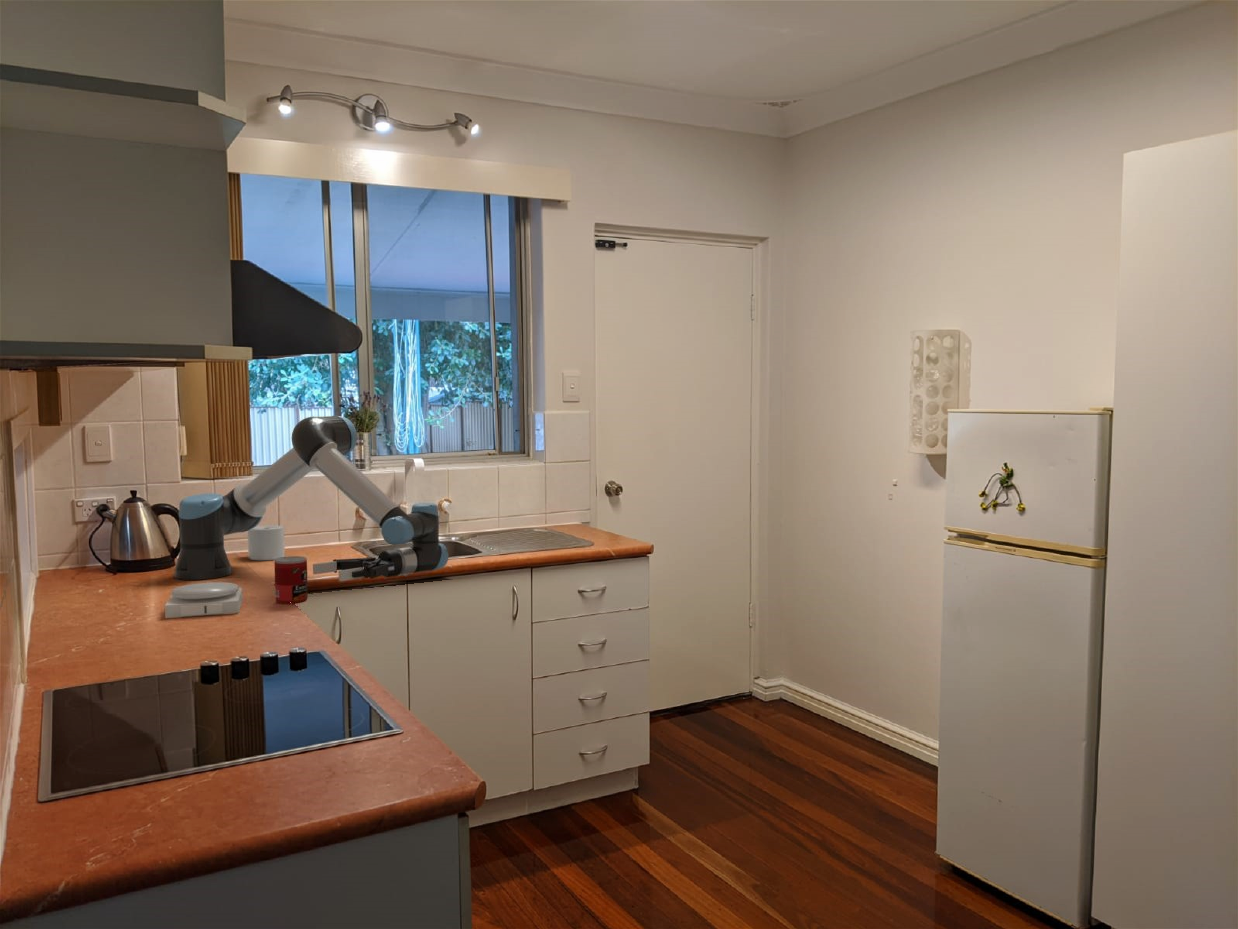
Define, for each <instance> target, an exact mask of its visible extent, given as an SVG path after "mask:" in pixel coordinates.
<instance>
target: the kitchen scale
mask: <svg viewBox="0 0 1238 929" xmlns="http://www.w3.org/2000/svg"><path fill="white" fill-rule="evenodd" d="M170 594H171V596H170V597H169V598H168V600H167V601H166V603H165V605H164V615H165V619H171V618H172V619H173V618H185V617H186V618H187V617H189V618H190V617H202V616H215V615H229V614H239V613H240V610H241V606H242V603H243V599H244V597H243V596H244V595H243V587H239V585H238V584H237V583H233V582H222V581H221V582H218V581H217V582H216V581H215V582H202V583H201V582H200V583H199V582H198V583H192V584H186V585H182V586H177V587H175V588H172V589H171V592H170Z"/></svg>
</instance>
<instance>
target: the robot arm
mask: <svg viewBox="0 0 1238 929" xmlns="http://www.w3.org/2000/svg"><path fill="white" fill-rule="evenodd" d="M357 439H358V433H357V430H356V427H355V425H354V423H353V422H352V421H351V420H350V419H348V418H347V417H344V416H341V415H340V416H339V415H328V416H308V417H305V418H302V419H301V420H300V421H299V422H297V424H295V426H294V428H293V429H292V432H291V443H292V444H291V445H292V448H290V449H289V450H288V451H287V452H286V453H284V454H283V455H282V456H280V457H279V458H278V459H277V460H276V461H275V462H273V463H272V464H271V465H270V466H268V467H267V468H265V469H264V471H262V472H261V473H259V475H257V476H256V477H255V478H253V479H252V480H251V481H249V483H247V484H238V485H237V486H235V487H234V488H233V489H231V490H230V491H229V492H228V493H227V494H225V495H223V496H222V495H221V494H219V493H202V494H193V495H190V496H188V497H184V498H183V499H182V500H181V501H180V502H179V504H178V505H179V507H178V508H179V509H178V520H179V521H178V522H179V544H180V545H179V546H180V548H179V549H180V550H179V555H178V556H177V561H176V564H175V566H174V578H175V579H179V580H186V581H189V580H190V581H194V580H198V581H199V580H210V579H218V578H222V577H227V576H229V575H231V574H232V565H231V563H230V560H229V558H228V555H227V552H226V549H225V540H224V538H225V537H224V536H227V535H232V534H238V533H245V532H248V530H250V529H253V528H254V527H256V526H259V525H260V523H261V521H262V519H263V517H264V515H265V514H266V512H267V506H269V504H270V505H271V503H272V502H274V501H276V499H278V498H279V497H280V496H282V495H283V494H284V493H285V492H286V491H288V490H289V489H291V487H293V486H294V485H295V484H297V482H299V481H300V480H301V479H303V478H304V477H305V476H307V475H308V474H310V473H311V471H313V470H318V471H319V472H320V473H321V474H322V475H324V477H325V478H327V479H328V480H329V481H330V482H331V484H333V485H334V486H335V487H336V488H337V489H338V490H340V491H341V492H342V493H343V494H344V496H346V497H347V498H348V499H349V500H350V501H351V502H352V503H353V504H355V505H356V507H358V508H359V509H360V510H361V511H362V512H363V513H364V514H365V515H366V516H367V517H369V519H371V520H372V521H373V522H374V523H375V524H376V525H378V528H379V527H380V529H381V530H380V531H381V532H380V533H381V535H382V538H383V540H384V541H385V543H387V544H388V545H389V544H390V545H391V546H400V545H406V544H407V543H410V542H411V543H412V546H407V547H401V548H400V547H398V548H393V549H385V550H382V551H381V552H380V553H379V555H378V557H375V556H373V557H372V556H371V557H368V556H366V557H358V558H342V559H341V558H340V559H339V558H338V559H335V558H334V559H332V561H328V562H326V561H325V562H319V563H313V564H312V574H313V575H320V574H327V573H334V574H336V573H338V582H345V581H352V580H358V579H363V578H364V579H368V578H369V579H375V578H379V577H381V576H383V577H384V578H393V577H398V576H404V577H408V575H409V574H416V573H423V572H432V571H436V570H441V569H442V568H444V567H446V565H447V564H448V561H449V553H448V551H447V550H448V549H447V547H446V546H445V545H444V544H443V543H441V542H440V538H439V537H440V533H439V532H440V530H439V529H440V527H439V525H440V524H439V523H440V520H439V518H440V515H439V507H438V505H437V504H436V503H433V502H432V503H431V502H423V503H421V502H420V503H414V504H412V506H411V512H410V513H406V512H405V511H404V510H403V509H402V508H401V507H400V506H398V504H396V503H395V502H394V500H392V499H391V497H389V496H388V495H387V494H385V492H383V491H382V490H381V489H380V488H379V487H378V485H376V484H375V483H374V482H373V481H372V480H370V478H368V476H366V475H365V474H364V472H362V471H361V470H360V469H359V468H358V467H357V466H355V464H353V463H352V462H351V461H350V460H349V459H348V458H347V457H346V455H348V454H350V453H352V452H353V450H355V447H356V446H357V442H358V440H357Z"/></svg>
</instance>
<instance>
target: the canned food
mask: <svg viewBox="0 0 1238 929" xmlns="http://www.w3.org/2000/svg"><path fill="white" fill-rule="evenodd" d="M273 563H274V591H275V593H274V594H275V601H276V603H277V602H278V603H277V604H279V603H281V604H280V605H295V604H296V605H298V604H302V603H305V602H307V600H308V598H309V597H308V595H309V594H308V593H309V591H308V587H309V586H308V559H307V557H306V556H300V555H298V556H297V555H296V556H295V555H292V556H291V555H290V556H289V555H288V556H285V557H280V558H276V559H275V560H274V562H273ZM290 602H291V603H292V604H291V603H290Z"/></svg>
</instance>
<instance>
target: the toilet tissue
mask: <svg viewBox="0 0 1238 929" xmlns="http://www.w3.org/2000/svg"><path fill="white" fill-rule="evenodd" d="M247 549H248V555H247V556H248V558H249V559H250V561H251V560H252V561H271V560H272V561H273V560H274V561H275V559H276V558H280V557H286V555H285V528H284V526H283V525H274V524H273V525H271V524H270V525H257V526H256V527H254V528H253V529H250V530H248V531H247Z"/></svg>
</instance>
